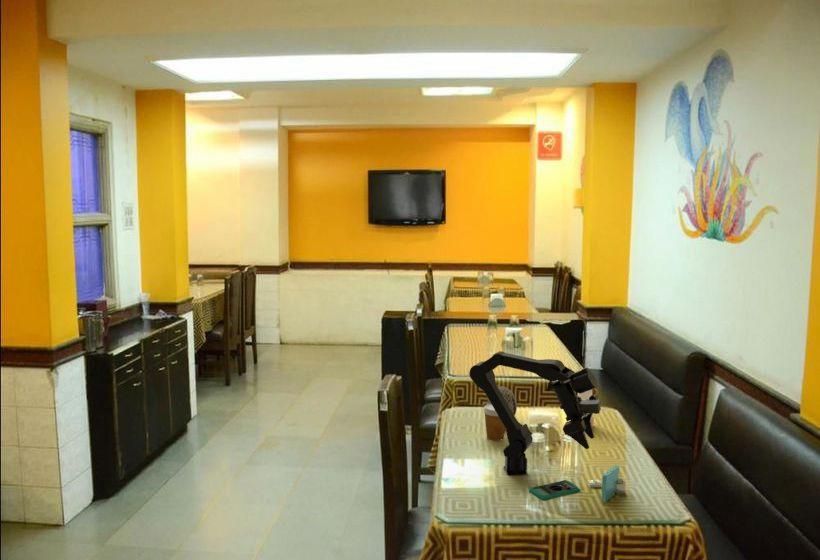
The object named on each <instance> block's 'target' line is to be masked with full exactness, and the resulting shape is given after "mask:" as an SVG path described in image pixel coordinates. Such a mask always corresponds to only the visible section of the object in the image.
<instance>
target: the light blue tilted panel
mask: <svg viewBox="0 0 820 560" xmlns="http://www.w3.org/2000/svg"><path fill="white" fill-rule="evenodd" d="M619 473H620V466H618V465H617V464H615V465H614V466H612V467H611V468H610V469H608V470H607V471H606V472H604V473H603V474H602V480H601V482H602V484H601V501H602V502H604V503H605V502H607V501H609V500H610V499H611V498H612V497H613V496H615V495H624V494H626V482H625V481H624V480H623V478H619V477H620V475H619Z"/></svg>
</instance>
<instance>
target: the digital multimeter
mask: <svg viewBox="0 0 820 560" xmlns="http://www.w3.org/2000/svg"><path fill="white" fill-rule="evenodd" d="M528 491H529V494H532V495H534V496H535V497H536V498H538V499H539V500H542V501H546V500H551V499H555V498H558V497H563V496H566V495H570V494H576V493H580V492H581V489H580V487H579V486H577V485H575V484H574V483H573V482H571V481H570V480H566V479H563V480H560V481H555V482H552V483H546V484H542V485H536V486H532V487H530V488H529V489H528Z"/></svg>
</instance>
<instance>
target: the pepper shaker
mask: <svg viewBox="0 0 820 560" xmlns="http://www.w3.org/2000/svg"><path fill="white" fill-rule="evenodd" d="M593 390H594V389H592V390H589V391H586V392H584V393H581V394H579V393H578V392H577V396H579V397H581V399H582V400H586V399H588V400H589V398H590V396H591V395H593ZM593 415H594V413H593V414H592V417H591V425H592V428H594V416H593Z"/></svg>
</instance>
